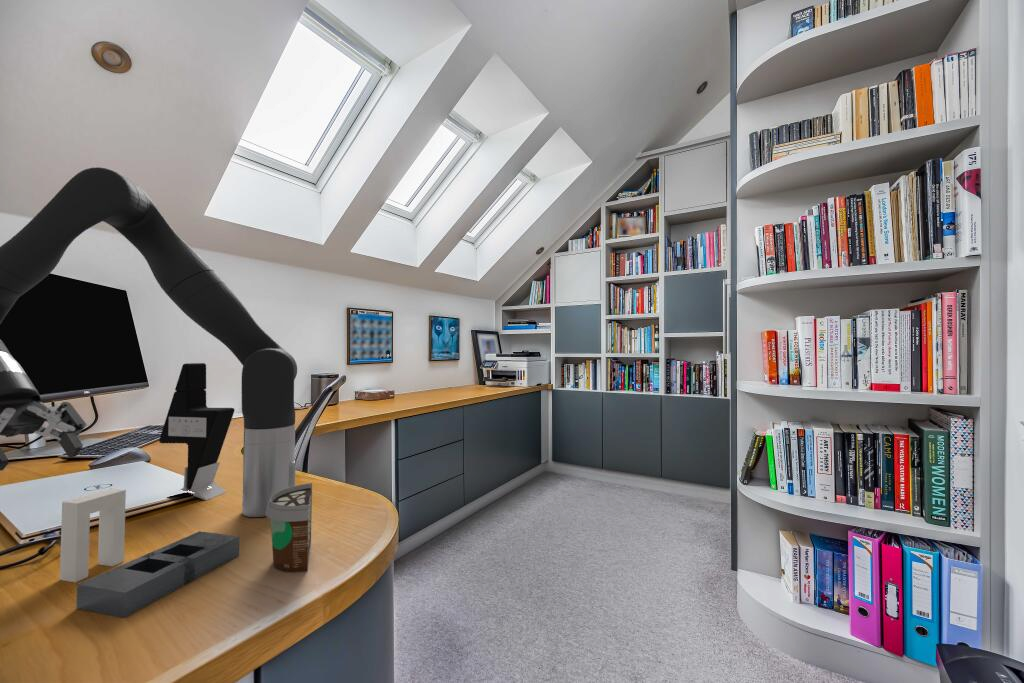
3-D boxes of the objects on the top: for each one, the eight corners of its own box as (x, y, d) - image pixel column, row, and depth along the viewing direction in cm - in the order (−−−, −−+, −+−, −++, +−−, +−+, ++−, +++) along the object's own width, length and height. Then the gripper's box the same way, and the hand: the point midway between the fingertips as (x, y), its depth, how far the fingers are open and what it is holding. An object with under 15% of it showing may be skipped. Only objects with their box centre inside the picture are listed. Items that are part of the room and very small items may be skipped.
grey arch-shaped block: (109, 559, 65) (111, 488, 65) (123, 561, 64) (125, 489, 64) (59, 579, 59) (62, 501, 59) (75, 582, 58) (77, 503, 58)
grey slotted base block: (198, 549, 68) (199, 531, 68) (238, 555, 66) (239, 536, 66) (76, 608, 52) (77, 584, 52) (124, 617, 50) (124, 592, 50)
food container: (270, 547, 69) (271, 486, 69) (311, 540, 71) (312, 481, 71) (257, 585, 57) (259, 512, 58) (307, 575, 60) (308, 506, 60)
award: (155, 496, 93) (159, 363, 94) (178, 489, 98) (181, 362, 99) (214, 500, 90) (217, 363, 91) (234, 492, 96) (236, 363, 96)
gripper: (-64, 370, 60) (-13, 454, 57) (62, 367, 74) (108, 435, 71) (-89, 406, 61) (-41, 490, 58) (40, 396, 75) (85, 464, 72)
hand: (41, 460), depth 64 cm, fingers open, 8 cm apart
